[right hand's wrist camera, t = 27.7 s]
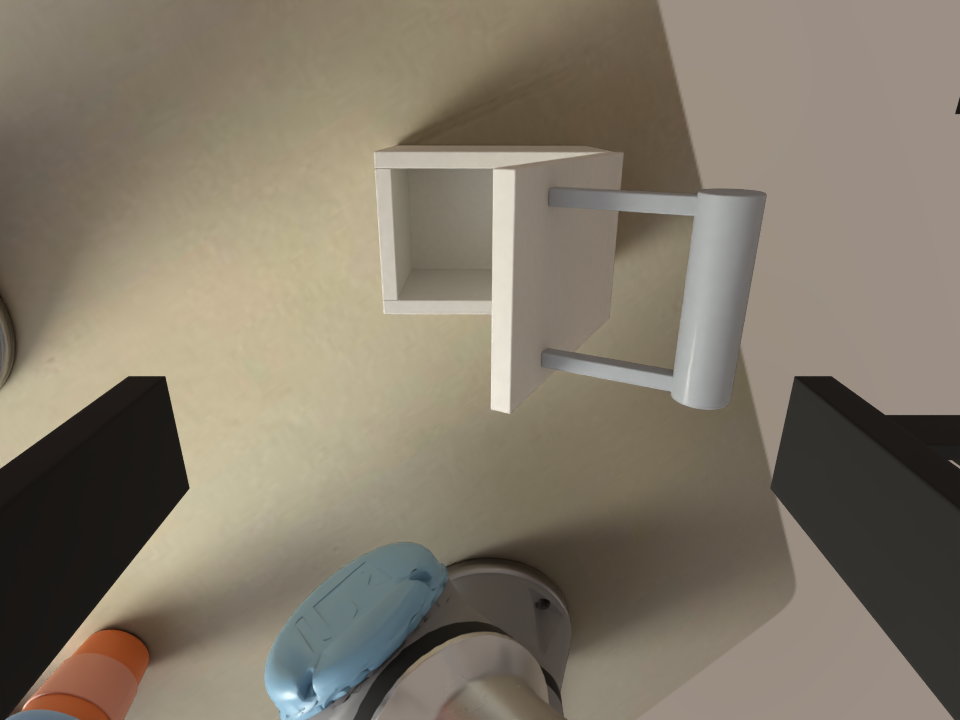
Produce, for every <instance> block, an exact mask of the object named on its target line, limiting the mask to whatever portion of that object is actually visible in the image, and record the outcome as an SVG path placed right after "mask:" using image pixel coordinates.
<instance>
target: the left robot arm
mask: <svg viewBox="0 0 960 720" xmlns="http://www.w3.org/2000/svg"><path fill="white" fill-rule="evenodd" d="M955 114H960V99H959V102H958V106H957V109H956V113H955ZM886 416H887V417H889V418H890V419H891V420H893V421H894V422H895V423H897V424H898V425H900V426H901V427H902V428H904V429H905V430H907V431H908V432H909V433H911V434H912V435H914V436H915V437H916V438H918V439H919V440H920V441H922V442H923V443H925V444H926V445H927V446H929V447H930V448H932V449H933V450H934V451H936V452H937V453H938V454H940V455H941V456H943V457H944V458H945V459H947V460H953V461H954V462H955V463H957V464H958V465H959V466H960V415H886ZM571 639H572V629H571V622H570V617H569V611H568V607H567V604H566V601H565V599H564V597H563V595H562V593H561V592H560V590H559V589H558V588H557V586H556V585H555V584H554V583H553V582H552V581H551V580H550V579H549V578H547V577H546V576H545V575H543V574H542V573H540V572H539V571H537V570H535V569H533V568H531V567H529V566H527V565H524V564H521V563H518V562H514V561H510V560H504V559H490V558H489V559H475V560H469V561H465V562H461V563H458V564H455V565H452V566H450V567H448V568H446V566H445V565H444V564H442V563H439V562H438V560H437V559H436V558H435V556H434V555H433V554H432V553H431V552H430V551H429V550H428V549H427V548H426V547H424V546H422V545H420V544H416V543H412V542H399V543H393V544H389V545H385V546H382V547H379V548H377V549H375V550H373V551H371V552H369V553H366V554H364V555H362V556H360V557H358V558H356V559H355V560H353V561H351V562H350V563H348V564H347V565H345V566H344V567H342V568H341V569H339V570H338V571H337V572H335V573H334V574H333V575H332V576H330V577H329V578H328V579H327V580H325V581H324V582H323V583H322V584H321V585H320V586H319V587H317V588H316V589H315V590H314V591H313V592H312V593H311V594H310V595H309V596H308V597H307V598H306V599H305V600H304V601H303V602H302V604H301V605H300V606H299V607H298V608H297V609H296V610H295V612H294V613H293V614H292V615H291V617H290V618H289V619H288V621H287V622H286V624H285V626H284V628H283V629H282V630H281V632H280V633H279V635H278V636H277V638H276V640H275V642H274V644H273V646H272V648H271V650H270V653H269V656H268V659H267V662H266V668H265V685H266V689H267V692H268V694H269V696H270V698H271V699H272V700H273V702H274V703H275V705H276V706H277V707H278V709H279V717H280V718H281V719H282V720H567V719H566V718H565V717H564V714H563V708H562V701H561V693H560V691H561V687H562V682H563V677H564V673H565V668H566V663H567V659H568V654H569V649H570V645H571Z"/></svg>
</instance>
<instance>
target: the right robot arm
mask: <svg viewBox="0 0 960 720" xmlns="http://www.w3.org/2000/svg"><path fill="white" fill-rule="evenodd" d="M14 356H15V338H14V332H13V327H12V323H11V320H10V317H9V314H8V312H7V309H6V307H5V305H4V303H3V301H2V299H1V297H0V388H1V387H2V386H3V384H4V383H5V381H6V380H7V378H8V376H9V374H10V372H11V369H12V366H13V362H14ZM188 490H189V483H188V479H187V474H186V470H185V465H184V460H183V456H182V451H181V447H180V442H179V437H178V433H177V428H176V423H175V419H174V414H173V410H172V405H171V400H170V396H169V391H168V387H167V382H166V377H165V376H128V377H127V378H126V379H124V380H123V381H121V382H120V383H119V384H117V385H116V386H114V387H113V388H112V389H110V390H109V391H108V392H106V393H105V394H103V395H102V396H101V397H99V398H98V399H96V400H95V401H94V402H92V403H91V404H89V405H88V406H87V407H85V408H84V409H83V410H81V411H80V412H78V413H77V414H76V415H74V416H73V417H71V418H70V419H69V420H67V421H66V422H65V423H63V424H62V425H60V426H59V427H58V428H56V429H55V430H53V431H52V432H51V433H49V434H48V435H46V436H45V437H44V438H42V439H41V440H40V441H38V442H37V443H35V444H34V445H33V446H31V447H30V448H28V449H27V450H26V451H24V452H23V453H22V454H20V455H19V456H17V457H16V458H15V459H13V460H12V461H10V462H9V463H8V464H6V465H5V466H3V467H2V468H1V469H0V720H6V719H7V717H8V716H9V715H10V714H11V712H12V711H13V710H14V708H15V707H16V706H17V705H18V703H19V702H20V701H21V700H22V698H23V697H24V696H25V695H26V693H27V692H28V691H29V690H30V688H31V687H32V686H33V685H34V683H35V682H36V681H37V680H38V678H39V677H40V676H41V675H42V673H43V672H44V671H45V670H46V668H47V667H48V666H49V664H50V663H51V662H52V661H53V659H54V658H55V657H56V656H57V654H58V653H59V652H60V651H61V649H62V648H63V647H64V646H65V644H66V643H67V642H68V641H69V639H70V638H71V637H72V636H73V634H74V633H75V632H76V631H77V629H78V628H79V627H80V625H81V624H82V623H83V622H84V620H85V619H86V618H87V617H88V615H89V614H90V613H91V612H92V610H93V609H94V608H95V607H96V605H97V604H98V603H99V602H100V600H101V599H102V598H103V597H104V595H105V594H106V593H107V592H108V590H109V589H110V588H111V586H112V585H113V584H114V583H115V581H116V580H117V579H118V578H119V576H120V575H121V574H122V573H123V571H124V570H125V569H126V568H127V566H128V565H129V564H130V563H131V561H132V560H133V559H134V558H135V556H136V555H137V554H138V553H139V551H140V550H141V549H142V547H143V546H144V545H145V544H146V542H147V541H148V540H149V539H150V537H151V536H152V535H153V534H154V532H155V531H156V530H157V529H158V527H159V526H160V525H161V524H162V522H163V521H164V520H165V519H166V517H167V516H168V515H169V514H170V512H171V511H172V510H173V509H174V507H175V506H176V505H177V503H178V502H179V501H180V500H181V498H182V497H183V496H184V495H185V493H186V492H187V491H188ZM771 490H772V491H773V492H774V493H775V495H776V496H777V497H778V498H779V500H780V501H781V502H782V503H783V505H784V506H785V507H786V508H787V510H788V511H789V512H790V514H791V515H792V516H793V517H794V519H795V520H796V521H797V522H798V524H799V525H800V526H801V527H802V529H803V530H804V531H805V532H806V534H807V535H808V536H809V537H810V539H811V540H812V541H813V542H814V544H815V545H816V546H817V547H818V549H819V550H820V551H821V553H822V554H823V555H824V556H825V558H826V559H827V560H828V561H829V563H830V564H831V565H832V566H833V568H834V569H835V570H836V571H837V573H838V574H839V575H840V576H841V578H842V579H843V580H844V581H845V583H846V584H847V585H848V586H849V588H850V589H851V590H852V592H853V593H854V594H855V595H856V597H857V598H858V599H859V600H860V602H861V603H862V604H863V605H864V607H865V608H866V609H867V610H868V612H869V613H870V614H871V615H872V617H873V618H874V619H875V620H876V622H877V623H878V624H879V625H880V627H881V628H882V629H883V631H884V632H885V633H886V634H887V636H888V637H889V638H890V639H891V641H892V642H893V643H894V644H895V646H896V647H897V648H898V649H899V651H900V652H901V653H902V654H903V656H904V657H905V658H906V659H907V661H908V662H909V663H910V664H911V666H912V667H913V668H914V670H915V671H916V672H917V673H918V675H919V676H920V677H921V678H922V680H923V681H924V682H925V683H926V685H927V686H928V687H929V688H930V690H931V691H932V692H933V693H934V695H935V696H936V697H937V698H938V700H939V701H940V702H941V703H942V705H943V706H944V707H945V708H946V710H947V711H948V712H949V714H950V715H951V716H952V717H953V719H954V720H960V469H959V468H958V467H957V466H955V465H954V464H952V463H951V462H950V461H948V460H947V459H945V458H944V457H943V456H941V455H940V454H938V453H937V452H936V451H934V450H933V449H932V448H930V447H929V446H927V445H926V444H925V443H923V442H922V441H920V440H919V439H918V438H916V437H915V436H914V435H912V434H911V433H909V432H908V431H907V430H905V429H904V428H902V427H901V426H900V425H898V424H897V423H895V422H894V421H893V420H891V419H890V418H889V417H887V416H886V415H884V414H883V413H882V412H880V411H879V410H877V409H876V408H875V407H873V406H872V405H870V404H869V403H868V402H866V401H865V400H864V399H862V398H861V397H859V396H858V395H856V394H855V393H854V392H852V391H851V390H850V389H848V388H847V387H846V386H844V385H843V384H841V383H840V382H839V381H837V380H836V379H834V378H833V377H831V376H795V377H794V382H793V387H792V391H791V396H790V400H789V405H788V410H787V414H786V419H785V423H784V428H783V433H782V437H781V442H780V447H779V451H778V456H777V460H776V465H775V470H774V474H773V479H772V483H771Z"/></svg>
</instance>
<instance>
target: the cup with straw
mask: <svg viewBox="0 0 960 720" xmlns="http://www.w3.org/2000/svg"><path fill="white" fill-rule="evenodd" d="M148 663H149V653H148V650H147V648H146V647H145V645H144V644H143V643H142V642H141V641H140V640H139V639H138V638H136V637H135V636H133V635H131V634H129V633H126V632H123V631H119V630H103V631H99V632H96V633H94V634H93V635H91V636H90V637H89V638H88V639H87V640H86V641H85V642H84V643H83V644H82V646H81V647H80V648H79V649H78V650H77V651H76V652H75V653H74V654H73V655H72V656H71V657H70V658H68V659H67V660H65V661H64V662H63V663H62V664H61V665H60V667H59V668H58V669H57V670H56V671H55V672H54V673H53V674H52V675H51V676H50V677H49V678H48V680H47V681H46V682H45V683H44V684H43V685H42V686H41V687H40V688H39V689H38V690H37V692H36V693H35V694H34V695H33V696H32V697H31V698H30V699H29V700H28V701H27V702H26V704H25V705H24V707H23V709H22V711H21V712H19V713H16V714H14V715H12V716H10V717H8V718H7V719H6V720H124V718H125V716H126V714H127V712H128V710H129V708H130V706H131V704H132V702H133V700H134V698H135V695H136V693H137V687H138V685H139V683H140V681H141V679H142V677H143V675H144V672H145V670H146V668H147V666H148Z"/></svg>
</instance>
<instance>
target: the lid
mask: <svg viewBox="0 0 960 720" xmlns="http://www.w3.org/2000/svg"><path fill="white" fill-rule="evenodd" d="M623 156H624V153H623V152H604V153H597V154H590V155H583V156H576V157H569V158H562V159H555V160H548V161H541V162H533V163H526V164H519V165H512V166H505V167H498V168H494V169H493V239H492V349H491V409H492V410H496V411H500V412H504V413H509V414H510V413H512V412H513V411H514V410H515V409H516V408H517V407H518V406H519V405H520V404H521V403H522V402H523V401H524V400H525V399H526V398H527V397H528V396H529V395H530V394H531V393H532V392H533V391H534V390H535V389H536V388H537V387H538V386H539V385H541V384H542V383H543V382H544V381H545V380H546V379H547V378H548V377H549V376H550V375H551V374H552V373H553V372H554V371H555V370H560V371H566V372H571V373H576V374H581V375H587V376H592V377H597V378H602V379H607V380H613V381H618V382H623V383H628V384H634V385H639V386H644V387H649V388H655V389H660V390H665V391H670V392H671V396H672V398H673V399H674V400H676V401H677V402H679V403H681V404H683V405H685V406H688V407H692V408H697V409H704V410H715V409H721V408H724V407H726V406H728V404H729V403H730V400H731V394H732V388H733V383H734V377H735V371H736V366H737V360H738V354H739V349H740V343H741V337H742V332H743V326H744V320H745V315H746V309H747V303H748V298H749V292H750V286H751V281H752V275H753V269H754V264H755V258H756V252H757V247H758V241H759V235H760V230H761V224H762V219H763V213H764V207H765V201H766V196H767V195H766V193H764V192H760V191H754V190H743V189H703V190H699V191H698V193H697V194H692V193H672V192H652V191H632V190H621V179H622V168H623ZM619 211H627V212H642V213H657V214H672V215H688V216H694V222H693V230H692V237H691V245H690V252H689V260H688V267H687V275H686V282H685V289H684V297H683V304H682V312H681V319H680V327H679V334H678V342H677V349H676V356H675V364H674V370H671V369H665V368H659V367H654V366H648V365H642V364H636V363H631V362H625V361H619V360H614V359H608V358H602V357H597V356H591V355H585V354H580V353H574V352H575V351H576V350H577V349H578V348H579V347H580V346H581V345H582V344H583V343H584V342H585V341H586V340H587V339H588V338H589V337H590V336H591V335H592V334H593V333H594V332H595V331H596V330H597V329H598V328H600V327H601V326H602V325H603V324H604V323H605V322H606V321H607V320H608V319H609V317H610V306H611V294H612V283H613V271H614V260H615V248H616V237H617V225H618V214H619Z"/></svg>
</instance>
